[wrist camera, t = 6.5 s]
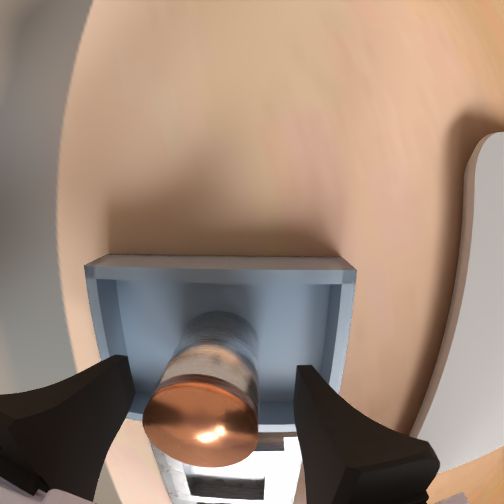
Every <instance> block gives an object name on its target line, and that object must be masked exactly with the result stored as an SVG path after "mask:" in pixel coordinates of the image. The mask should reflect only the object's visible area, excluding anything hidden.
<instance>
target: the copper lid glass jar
mask: <svg viewBox="0 0 504 504" xmlns="http://www.w3.org/2000/svg"><path fill="white" fill-rule="evenodd" d="M259 348H260V347H259V339H258V336H257V334H256V332H255V330H254V329H253V327H252V326H251V325H250V324H249V323H248V322H247V321H246V320H245V319H243V318H241V317H240V316H238V315H236V314H233V313H230V312H225V311H211V312H206V313H203V314H201V315H199V316H197V317H195V318H194V319H193V320H192V321H191V322H190V323H189V324H188V326H187V327H186V329H185V331H184V333H183V335H182V337H181V339H180V341H179V343H178V345H177V347H176V348H175V350H174V352H173V354H172V356H171V358H170V360H169V362H168V364H167V366H166V368H165V370H164V372H163V374H162V376H161V378H160V380H159V382H158V384H157V386H156V388H155V390H154V392H153V394H152V396H151V398H150V400H149V402H148V404H147V406H146V408H145V410H144V412H143V417H142V422H143V427H144V430H145V433H146V434H147V436H148V438H149V439H150V440H151V442H152V443H153V444H154V445H155V446H156V447H157V448H158V449H159V450H161V451H162V452H163V453H165V454H166V455H168V456H170V457H171V458H173V459H175V460H178V461H180V462H183V463H186V464H189V465H193V466H197V467H205V468H220V467H227V466H231V465H234V464H237V463H239V462H241V461H243V460H245V459H246V458H248V457H249V456H250V455H251V454H252V453H253V452H254V450H255V449H256V446H257V444H258V428H259Z"/></svg>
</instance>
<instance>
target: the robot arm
mask: <svg viewBox="0 0 504 504" xmlns="http://www.w3.org/2000/svg"><path fill="white" fill-rule="evenodd" d="M135 393H136V391H135V387H134V383H133V378H132V374H131V369H130V365H129V360H128V356H124V355H117V354H115V355H113V356H111V357H109V358H107V359H105V360H103V361H101V362H99V363H97V364H95V365H93V366H91V367H90V368H88V369H86V370H84V371H82V372H80V373H78V374H76V375H74V376H72V377H70V378H67V379H65V380H63V381H60V382H58V383H55V384H52V385H50V386H47V387H44V388H40V389H36V390H31V391H27V392H22V393H14V394H4V395H0V504H97V503H94V502H93V499H94V495H95V490H96V486H97V482H98V479H99V476H100V472H101V469H102V466H103V463H104V460H105V458H106V455H107V452H108V450H109V448H110V446H111V444H112V442H113V440H114V438H115V436H116V434H117V433H118V431H119V429H120V427H121V425H122V423H123V422H124V420H125V418H126V416H127V414H128V412H129V410H130V408H131V405H132V402H133V399H134V396H135ZM293 408H294V421H295V427H296V431H297V436H298V441H299V445H300V450H301V455H302V459H303V465H304V471H305V483H306V498H307V504H427V503H426V501H427V500H428V499H429V496H428V494H427V492H426V489H427V488H428V486H429V485H430V483H431V482H432V481H433V479H434V478H435V476H436V474H437V473H438V471H439V468H440V461H439V459H438V457H437V455H436V453H435V451H434V449H433V448H432V447H431V445H430V444H429V442H428V441H425V440H421V439H417V438H414V437H410V436H407V435H404V434H401V433H399V432H396V431H394V430H391V429H389V428H387V427H385V426H383V425H381V424H379V423H377V422H375V421H373V420H371V419H370V418H368V417H367V416H365V415H364V414H362V413H361V412H359V411H358V410H356V409H355V408H354V407H352V406H351V405H350V404H348V403H347V402H346V401H345V400H344V399H343V398H342V397H341V396H340V395H339V394H337V393H336V391H335V390H334V389H333V388H332V387H331V386H330V385H329V384H328V383H327V382H326V381H325V380H324V379H323V377H322V376H321V375H320V374H319V373H318V372H317V370H316V369H315V368H314V367H313V366H312V365H297V368H296V379H295V389H294V399H293ZM435 504H470V503H469V501H468V499H467V497H466V496H465V494H464V492H461V493H459V494H456V495H454V496H452V497H449V498H447V499H444V500H442V501H439V502H437V503H435Z"/></svg>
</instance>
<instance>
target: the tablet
mask: <svg viewBox="0 0 504 504" xmlns="http://www.w3.org/2000/svg"><path fill="white" fill-rule="evenodd" d="M409 436H410V437H414V438H417V439H421V440H425V441H428V442H429V444H430V445H431V447H432V448H433V449H434V451H435V453H436V455H437V457H438V459H439V461H440V468H439V471H438V473H437V474H439V473H442V472H445V471H447V470H450V469H453V468H455V467H458V466H460V465H463V464H465V463H468V462H470V461H472V460H475V459H477V458H479V457H481V456H484V455H486V454H488V453H490V452H492V451H494V450H496V449H498V448H500V447H502V446H504V132H496V133H491V134H488V135H486V136H485V137H483V138H482V139H481V140H480V141H479V142H478V144H477V145H476V147H475V148H474V151H473V153H472V155H471V156H470V158H469V160H468V162H467V165H466V168H465V173H464V189H463V214H462V228H461V239H460V249H459V257H458V264H457V271H456V278H455V284H454V290H453V295H452V300H451V305H450V310H449V315H448V319H447V323H446V328H445V332H444V336H443V340H442V343H441V347H440V351H439V354H438V358H437V361H436V364H435V367H434V371H433V374H432V377H431V380H430V383H429V386H428V389H427V391H426V394H425V397H424V400H423V402H422V405H421V408H420V410H419V413H418V415H417V418H416V420H415V422H414V425H413V427H412V430H411V432H410V434H409Z"/></svg>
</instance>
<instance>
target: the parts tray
mask: <svg viewBox="0 0 504 504" xmlns="http://www.w3.org/2000/svg"><path fill="white" fill-rule="evenodd" d="M84 269H85V277H86V284H87V291H88V298H89V304H90V310H91V315H92V320H93V326H94V331H95V335H96V340H97V345H98V349H99V353H100V358H101V361H103V360H105V359H107V358H109V357H111V356H113V355H115V354H117V355H124V356H128V360H129V365H130V369H131V374H132V378H133V383H134V387H135V391H136V393H135V396H134V399H133V402H132V405H131V408H130V410H129V412H128V414H127V416H126V418H127V419H133V420H138V421H142V417H143V412H144V410H145V408H146V406H147V404H148V402H149V400H150V398H151V396H152V394H153V392H154V390H155V388H156V386H157V384H158V382H159V380H160V378H161V376H162V374H163V372H164V370H165V368H166V366H167V364H168V362H169V360H170V358H171V356H172V354H173V352H174V350H175V348H176V347H177V345H178V343H179V341H180V339H181V337H182V335H183V333H184V331H185V329H186V327H187V326H188V324H189V323H190V322H191V321H192V320H193V319H194V318H195V317H197V316H199V315H201V314H203V313H206V312H211V311H225V312H230V313H233V314H236V315H238V316H240V317H241V318H243V319H245V320H246V321H247V322H248V323H249V324H250V325H251V326H252V327H253V329H254V330H255V332H256V334H257V336H258V339H259V347H260V348H259V428H258V432H296V427H295V421H294V408H293V399H294V389H295V379H296V368H297V365H312V366H313V367H314V368H315V369H316V370H317V372H318V373H319V374H320V375H321V376H322V377H323V379H324V380H325V381H326V382H327V383H328V384H329V385H330V386H331V387H332V388H333V389H334V390H335V391H336V393H337V394H339V391H340V386H341V381H342V376H343V370H344V364H345V358H346V352H347V346H348V339H349V332H350V325H351V318H352V310H353V301H354V292H355V283H356V272H357V270H356V269H355V268H354V267H353V266H352V265H350V264H349V263H348V262H347V261H346V260H345V259H343V258H342V257H302V256H204V255H128V254H107V255H105V256H103V257H101V258H99V259H97V260H95V261H93V262H91V263H88V264H86V265H84Z"/></svg>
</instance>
